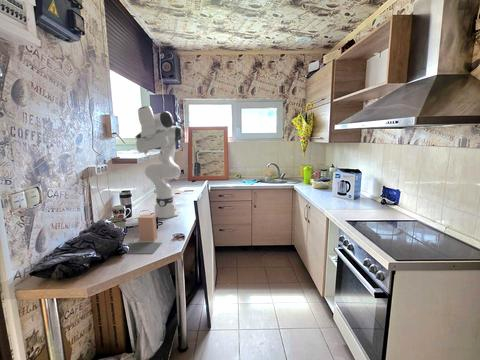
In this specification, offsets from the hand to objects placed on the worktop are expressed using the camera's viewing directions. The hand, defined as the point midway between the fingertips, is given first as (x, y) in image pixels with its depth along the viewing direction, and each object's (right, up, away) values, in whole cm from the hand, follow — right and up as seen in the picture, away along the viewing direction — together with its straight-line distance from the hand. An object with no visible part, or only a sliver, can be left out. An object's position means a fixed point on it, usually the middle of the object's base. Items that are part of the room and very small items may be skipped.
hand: (155, 156), depth 154 cm
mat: (-2, -50, -18) cm, 53 cm away
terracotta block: (-2, -48, -7) cm, 49 cm away
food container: (-25, -48, 0) cm, 53 cm away
